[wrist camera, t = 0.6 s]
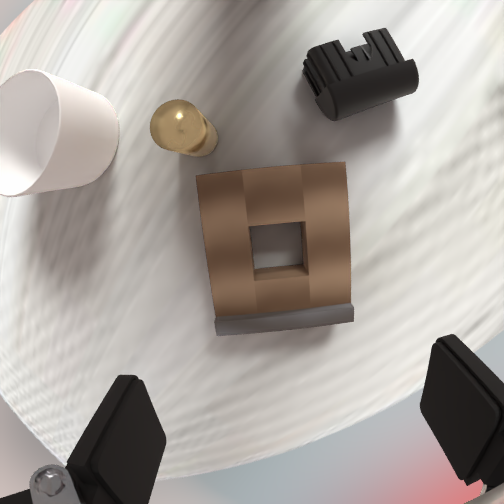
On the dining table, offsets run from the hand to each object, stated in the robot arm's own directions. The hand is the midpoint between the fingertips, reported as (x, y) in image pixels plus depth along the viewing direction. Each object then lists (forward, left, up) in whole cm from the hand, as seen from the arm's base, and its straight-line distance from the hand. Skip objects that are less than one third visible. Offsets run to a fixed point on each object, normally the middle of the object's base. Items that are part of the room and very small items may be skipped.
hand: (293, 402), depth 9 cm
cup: (-14, -21, -26) cm, 36 cm away
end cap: (-16, +11, -26) cm, 32 cm away
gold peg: (-11, -6, -26) cm, 29 cm away
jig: (+1, +1, -26) cm, 26 cm away
